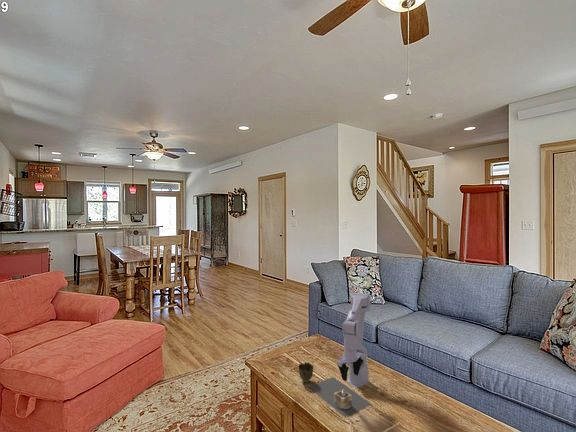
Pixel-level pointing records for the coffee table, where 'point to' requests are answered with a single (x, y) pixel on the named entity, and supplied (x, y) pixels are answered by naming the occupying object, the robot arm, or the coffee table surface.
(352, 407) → the mat
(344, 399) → the collar
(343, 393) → the post
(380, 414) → the coffee table surface
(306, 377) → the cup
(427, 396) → the coffee table surface
